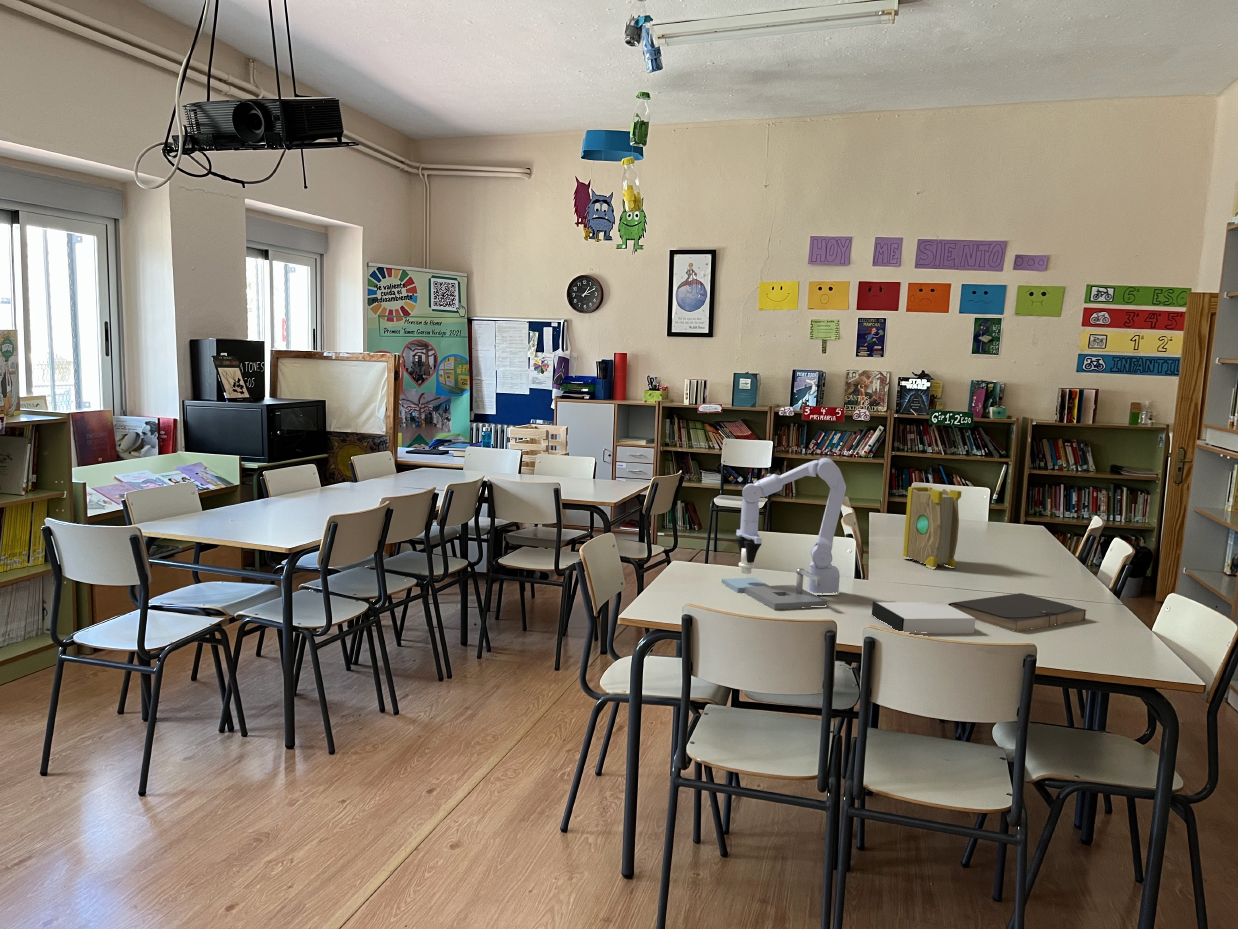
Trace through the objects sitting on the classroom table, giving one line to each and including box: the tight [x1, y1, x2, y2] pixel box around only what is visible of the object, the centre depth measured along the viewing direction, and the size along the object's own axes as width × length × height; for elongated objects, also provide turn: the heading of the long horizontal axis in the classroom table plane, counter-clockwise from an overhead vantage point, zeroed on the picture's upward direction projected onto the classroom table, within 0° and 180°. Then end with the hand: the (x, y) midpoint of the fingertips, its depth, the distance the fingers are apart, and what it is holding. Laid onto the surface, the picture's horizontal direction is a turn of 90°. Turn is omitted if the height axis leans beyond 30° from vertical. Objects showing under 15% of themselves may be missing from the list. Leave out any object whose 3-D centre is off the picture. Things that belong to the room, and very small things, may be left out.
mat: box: [721, 577, 770, 593], centre depth 278 cm, size 12×12×2 cm
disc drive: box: [871, 601, 976, 635], centre depth 242 cm, size 18×22×5 cm
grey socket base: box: [743, 573, 828, 611], centre depth 263 cm, size 18×20×8 cm
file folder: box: [947, 592, 1087, 632], centre depth 257 cm, size 33×4×24 cm
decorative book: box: [902, 486, 962, 568], centre depth 325 cm, size 20×11×30 cm, turn 18°
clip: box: [795, 567, 821, 586], centre depth 260 cm, size 12×2×3 cm, turn 19°
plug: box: [738, 548, 756, 575], centre depth 277 cm, size 5×5×8 cm
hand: (747, 561), depth 277 cm, fingers closed on plug, 4 cm apart
